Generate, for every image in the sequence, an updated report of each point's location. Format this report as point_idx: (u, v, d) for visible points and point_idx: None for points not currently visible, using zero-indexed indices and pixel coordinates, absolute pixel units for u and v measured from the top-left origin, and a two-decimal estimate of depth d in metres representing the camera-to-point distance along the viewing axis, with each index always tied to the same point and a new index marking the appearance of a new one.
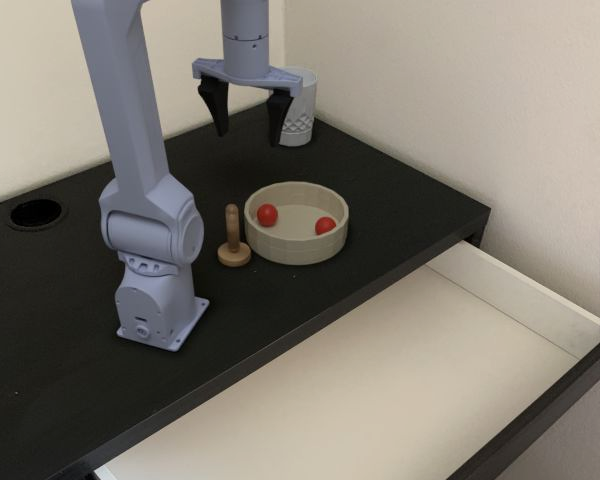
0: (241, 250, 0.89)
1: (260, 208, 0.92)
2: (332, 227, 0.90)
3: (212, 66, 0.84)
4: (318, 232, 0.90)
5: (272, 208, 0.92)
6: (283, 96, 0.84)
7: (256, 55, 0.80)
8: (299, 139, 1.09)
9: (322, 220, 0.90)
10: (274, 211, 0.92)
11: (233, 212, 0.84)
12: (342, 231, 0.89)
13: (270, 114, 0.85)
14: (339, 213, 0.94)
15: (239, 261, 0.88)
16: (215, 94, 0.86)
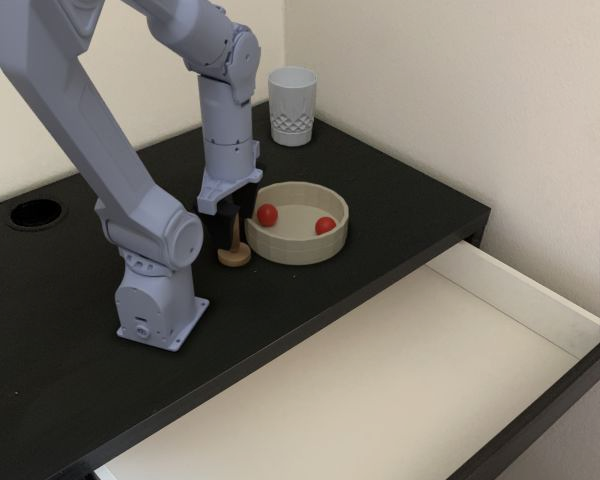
0: (241, 250, 0.89)
1: (260, 208, 0.92)
2: (332, 227, 0.90)
3: None
4: (318, 232, 0.90)
5: (272, 208, 0.92)
6: None
7: (206, 152, 0.77)
8: (299, 139, 1.09)
9: (322, 220, 0.90)
10: (274, 211, 0.92)
11: None
12: (342, 231, 0.89)
13: None
14: (339, 213, 0.94)
15: (239, 261, 0.88)
16: None
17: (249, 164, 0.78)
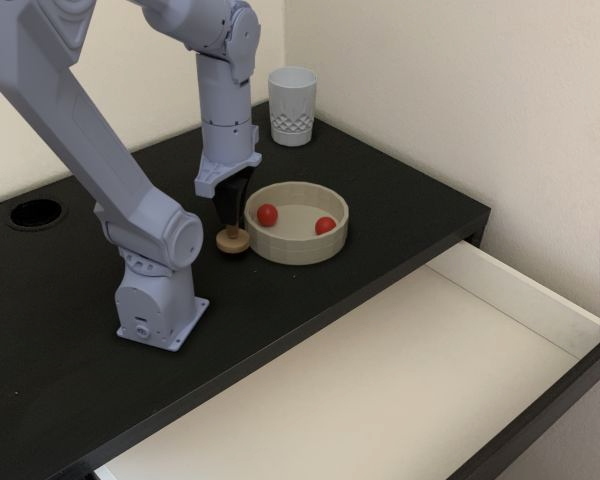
0: (240, 237, 0.87)
1: (260, 208, 0.92)
2: (332, 227, 0.90)
3: None
4: (318, 232, 0.90)
5: (272, 208, 0.92)
6: None
7: (204, 134, 0.75)
8: (299, 139, 1.09)
9: (322, 220, 0.90)
10: (274, 211, 0.92)
11: None
12: (342, 231, 0.89)
13: None
14: (339, 213, 0.94)
15: (238, 247, 0.86)
16: None
17: (248, 147, 0.76)
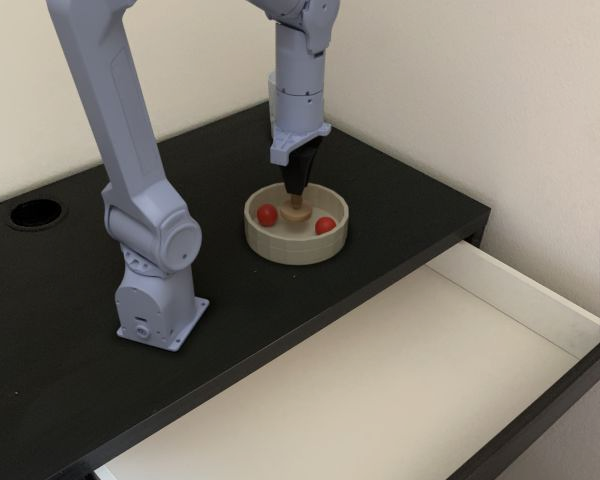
0: (304, 207, 0.90)
1: (260, 208, 0.92)
2: (332, 227, 0.90)
3: None
4: (318, 232, 0.90)
5: (272, 208, 0.92)
6: None
7: (278, 104, 0.78)
8: None
9: (322, 220, 0.90)
10: (274, 211, 0.92)
11: None
12: (342, 231, 0.89)
13: None
14: (339, 213, 0.94)
15: (302, 217, 0.89)
16: None
17: (319, 117, 0.79)
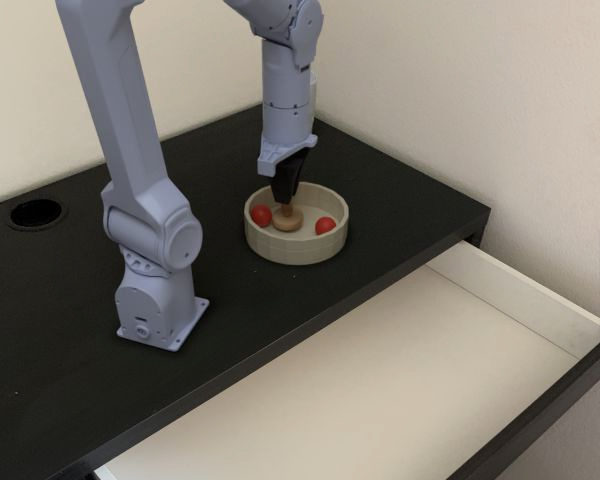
0: (294, 214, 0.92)
1: (251, 213, 0.92)
2: (332, 227, 0.90)
3: None
4: (318, 232, 0.90)
5: (261, 208, 0.91)
6: None
7: (265, 117, 0.80)
8: None
9: (322, 220, 0.90)
10: (264, 210, 0.91)
11: None
12: (342, 231, 0.89)
13: None
14: (339, 213, 0.94)
15: (292, 225, 0.91)
16: None
17: (306, 129, 0.82)
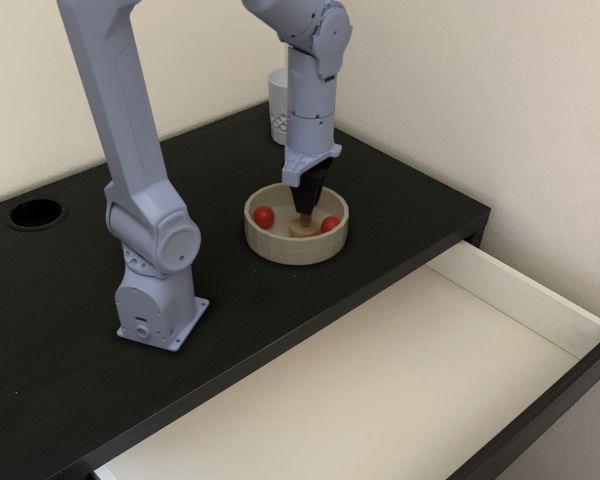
0: (312, 226, 0.90)
1: (255, 211, 0.92)
2: None
3: None
4: (325, 227, 0.90)
5: (266, 210, 0.91)
6: None
7: (289, 126, 0.79)
8: None
9: (333, 218, 0.90)
10: (268, 213, 0.91)
11: None
12: (342, 231, 0.89)
13: None
14: (339, 213, 0.94)
15: (305, 234, 0.89)
16: None
17: (330, 139, 0.80)
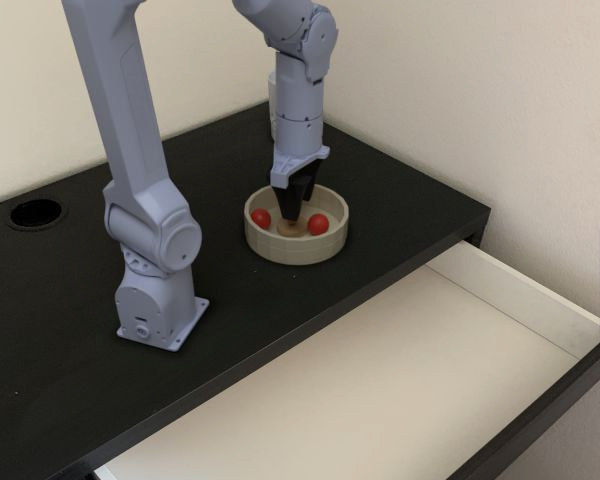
0: (298, 225, 0.92)
1: None
2: (317, 224, 0.90)
3: None
4: None
5: (260, 217, 0.90)
6: None
7: (278, 129, 0.80)
8: None
9: (308, 221, 0.91)
10: (263, 220, 0.91)
11: None
12: (342, 231, 0.89)
13: None
14: (339, 213, 0.94)
15: (288, 233, 0.91)
16: None
17: (318, 141, 0.82)
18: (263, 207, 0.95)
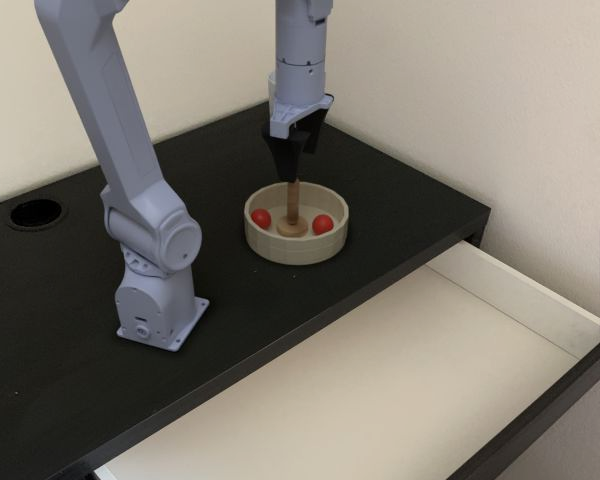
0: (298, 225, 0.92)
1: None
2: (324, 226, 0.90)
3: None
4: None
5: (260, 217, 0.90)
6: None
7: (278, 75, 0.76)
8: None
9: (315, 220, 0.90)
10: (263, 220, 0.91)
11: (292, 185, 0.87)
12: (342, 231, 0.89)
13: None
14: (339, 213, 0.94)
15: (288, 233, 0.91)
16: None
17: (321, 89, 0.77)
18: (263, 207, 0.95)
